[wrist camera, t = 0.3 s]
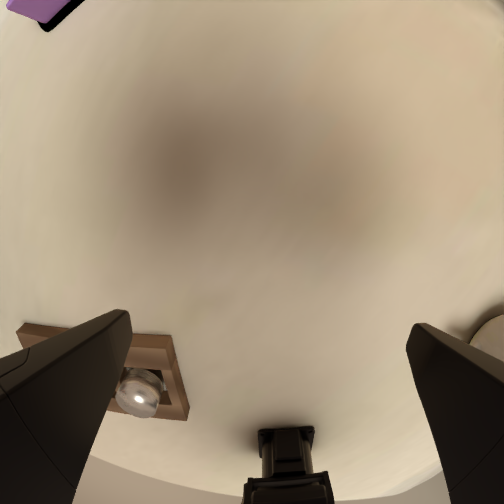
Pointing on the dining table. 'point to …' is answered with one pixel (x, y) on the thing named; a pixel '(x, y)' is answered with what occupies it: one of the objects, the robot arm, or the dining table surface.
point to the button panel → (139, 356)
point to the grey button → (140, 393)
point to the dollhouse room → (44, 10)
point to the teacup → (491, 338)
